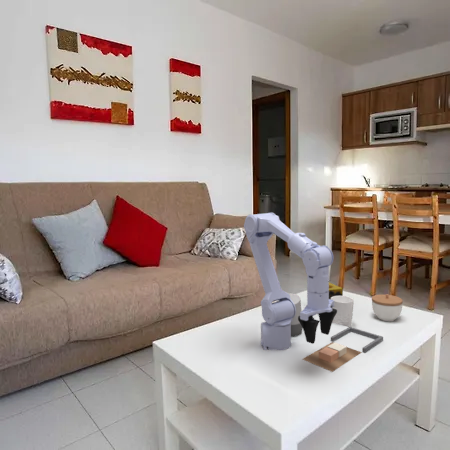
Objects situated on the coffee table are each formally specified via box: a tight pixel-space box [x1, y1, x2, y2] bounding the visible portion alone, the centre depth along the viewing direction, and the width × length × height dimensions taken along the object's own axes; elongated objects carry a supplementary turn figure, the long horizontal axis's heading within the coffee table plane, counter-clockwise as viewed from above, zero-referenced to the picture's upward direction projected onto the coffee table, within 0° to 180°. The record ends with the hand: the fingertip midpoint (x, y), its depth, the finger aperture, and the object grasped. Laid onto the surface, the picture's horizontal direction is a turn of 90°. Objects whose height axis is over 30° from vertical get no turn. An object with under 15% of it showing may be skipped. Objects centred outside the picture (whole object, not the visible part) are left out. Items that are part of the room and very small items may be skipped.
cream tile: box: [327, 341, 347, 357], centre depth 108 cm, size 4×4×2 cm
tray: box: [330, 326, 384, 354], centre depth 116 cm, size 12×12×3 cm
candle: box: [329, 281, 344, 299], centre depth 149 cm, size 10×10×10 cm
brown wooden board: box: [302, 341, 363, 373], centre depth 106 cm, size 16×10×2 cm, turn 131°
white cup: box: [331, 295, 354, 328], centre depth 132 cm, size 8×8×10 cm
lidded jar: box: [371, 293, 404, 322], centre depth 137 cm, size 11×11×9 cm
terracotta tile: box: [319, 347, 339, 363], centre depth 105 cm, size 4×4×2 cm
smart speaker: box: [276, 292, 303, 338], centre depth 124 cm, size 10×9×14 cm
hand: (317, 337), depth 100 cm, fingers open, 7 cm apart
